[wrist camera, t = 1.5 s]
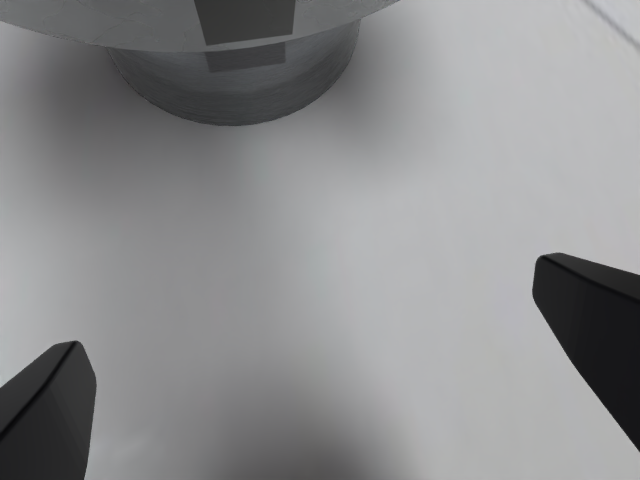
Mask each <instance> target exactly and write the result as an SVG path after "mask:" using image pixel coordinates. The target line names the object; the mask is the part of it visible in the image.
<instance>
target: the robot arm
mask: <svg viewBox="0 0 640 480" xmlns="http://www.w3.org/2000/svg"><path fill="white" fill-rule="evenodd" d="M532 294H533V299H534V301H535V303H536V305H537V307H538V308H539V310H540V312H541V313H542V315H543V317H544V318H545V320H546V322H547V323H548V325H549V327H550V328H551V330H552V331H553V333H554V335H555V336H556V338H557V340H558V341H559V343H560V345H561V346H562V348H563V350H564V351H565V353H566V354H567V356H568V357H569V359H570V360H571V362H572V364H573V365H574V366H575V368H576V369H577V370H578V372H579V373H580V375H581V376H582V377H583V378H584V380H585V381H586V382H587V384H588V385H589V386H590V388H591V389H592V390H593V392H594V393H595V394H596V396H597V397H598V398H599V399H600V401H601V402H602V403H603V405H604V406H605V407H606V409H607V410H608V411H609V413H610V414H611V415H612V416H613V418H614V419H615V420H616V422H617V423H618V424H619V426H620V427H621V428H622V430H623V431H624V432H625V433H626V435H627V436H628V437H629V439H630V440H631V441H632V443H633V444H634V445H635V447H636V448H637V449H638V451H639V452H640V275H637V274H634V273H630V272H627V271H623V270H620V269H616V268H613V267H609V266H606V265H602V264H599V263H595V262H592V261H588V260H585V259H581V258H578V257H574V256H571V255H567V254H564V253H552V254H546V255H542V256H540V257H539V258H538V259H537V261H536V264H535V272H534V280H533V288H532ZM95 396H96V377H95V373H94V371H93V369H92V366H91V364H90V361H89V359H88V356H87V354H86V352H85V349H84V347H83V345H82V344H81V343H80V342H79V341H70V342H64V343H59V344H55V345H53V346H52V347H50V348H49V349H48V350H47V351H46V352H44V353H43V354H42V355H41V356H39V357H38V358H37V359H36V360H34V361H33V362H32V363H31V364H29V365H28V366H27V367H26V368H24V369H23V370H22V371H21V372H19V373H18V374H17V375H16V376H15V377H13V378H12V379H11V380H10V381H8V382H7V383H6V384H5V385H3V386H2V387H1V388H0V480H84V477H85V473H86V468H87V462H88V455H89V447H90V439H91V430H92V422H93V413H94V405H95Z"/></svg>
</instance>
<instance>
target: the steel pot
mask: <svg viewBox="0 0 640 480" xmlns="http://www.w3.org/2000/svg"><path fill="white" fill-rule="evenodd" d="M360 20H361V18H360V19H357V20H355V21H352V22H349V23H346V24H343V25H341V26H338V27H335V28H332V29H329V30H326V31H322V32H319V33H315V34H312V35H309V36H305V37H301V38H297V39H292V40H288V41H284V42H279V43H275V44H268V45H262V46H256V47H250V48H242V49H233V50H223V51H207V52H154V51H141V50H128V49H120V48H113V47H106V48H107V50H108V52H109V54H110V56H111V57H112V59H113V61H114V63H115V65H116V67H117V68H118V70H119V72H120V73H121V74H122V76H123V77H124V78H125V80H126V81H127V82H128V83H129V84H130V85H131V86H132V87H133V88H134V89H135V90H136V91H137V92H138V93H139V94H140V95H141V96H143V97H144V98H145V99H147V100H148V101H150V102H151V103H152V104H154V105H156V106H158V107H159V108H161V109H163V110H165V111H167V112H169V113H171V114H174V115H176V116H179V117H181V118H184V119H188V120H191V121H195V122H199V123H204V124H212V125H219V126H241V125H252V124H258V123H263V122H267V121H272V120H275V119H278V118H281V117H284V116H287V115H289V114H291V113H293V112H295V111H297V110H300V109H302V108H304V107H305V106H307V105H308V104H310V103H311V102H313V101H314V100H316V99H317V98H319V97H320V96H321V95H322V94H323V93H324V92H326V91H327V90H328V89H329V88H330V87H331V86H332V85H333V84H334V82H335V81H336V80H337V79H338V78H339V77H340V75H341V74H342V72H343V71H344V69H345V68H346V66H347V64H348V62H349V60H350V58H351V56H352V53H353V51H354V47H355V44H356V40H357V36H358V31H359V26H360Z"/></svg>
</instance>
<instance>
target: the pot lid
mask: <svg viewBox="0 0 640 480" xmlns="http://www.w3.org/2000/svg"><path fill="white" fill-rule="evenodd" d="M397 1H399V0H0V21H3V22H6V23H9V24H12V25H15V26H18V27H21V28H24V29H28V30H32V31H35V32H39V33H43V34H46V35H50V36H54V37H58V38H62V39H67V40H72V41H77V42H82V43H87V44H92V45H99V46H106V47H113V48H120V49H128V50H141V51H154V52H207V51H223V50H233V49H242V48H250V47H256V46H262V45H268V44H275V43H279V42H284V41H288V40H292V39H297V38H301V37H305V36H309V35H312V34H315V33H319V32H322V31H326V30H329V29H332V28H335V27H338V26H341V25H343V24H346V23H349V22H352V21H355V20H357V19H360V18H362V17H365V16H367V15H369V14H372V13H374V12H376V11H378V10H381V9H383V8H385V7H388V6H390V5H392V4H394V3H395V2H397Z"/></svg>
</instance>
